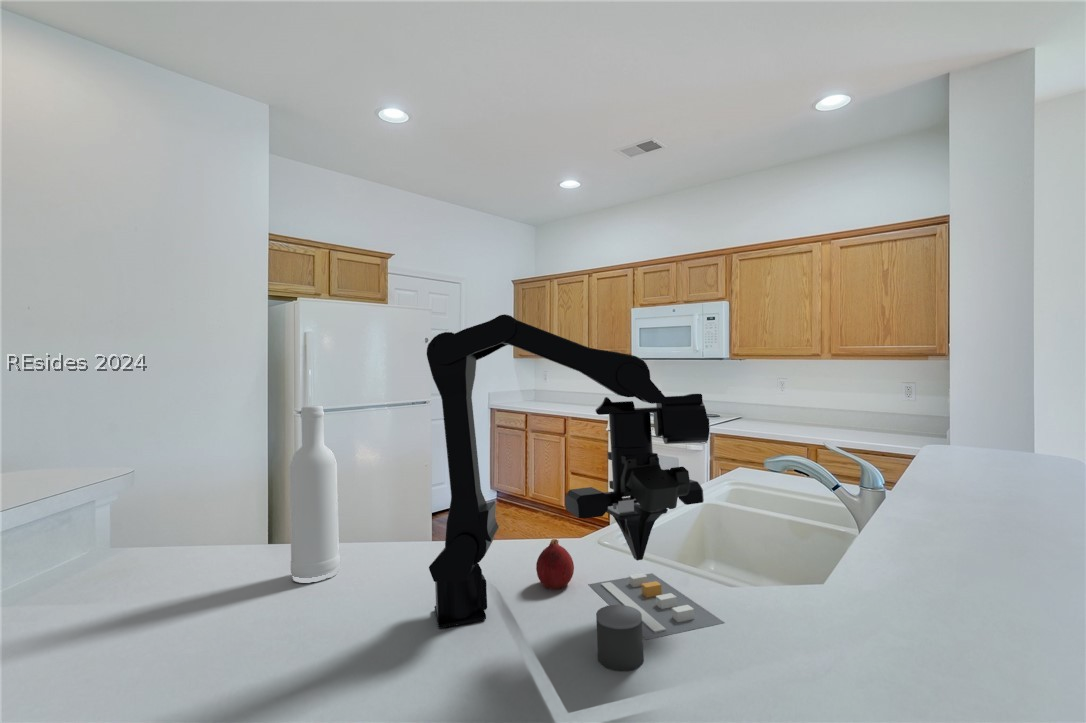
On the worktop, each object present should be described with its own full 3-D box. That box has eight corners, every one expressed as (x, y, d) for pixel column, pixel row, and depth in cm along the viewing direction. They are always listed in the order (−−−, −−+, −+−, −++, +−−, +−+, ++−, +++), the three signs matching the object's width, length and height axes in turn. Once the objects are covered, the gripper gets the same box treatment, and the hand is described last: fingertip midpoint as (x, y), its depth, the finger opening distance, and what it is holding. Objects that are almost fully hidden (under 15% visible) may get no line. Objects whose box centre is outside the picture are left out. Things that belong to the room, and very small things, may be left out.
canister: (609, 686, 52) (606, 628, 52) (591, 662, 56) (589, 608, 57) (652, 677, 53) (649, 620, 53) (631, 654, 58) (629, 602, 58)
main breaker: (646, 597, 70) (646, 587, 70) (642, 593, 71) (641, 583, 71) (661, 594, 71) (661, 584, 71) (656, 590, 72) (656, 581, 72)
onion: (572, 601, 73) (569, 545, 73) (533, 599, 74) (531, 545, 74) (577, 585, 78) (574, 534, 79) (541, 584, 80) (539, 533, 80)
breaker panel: (646, 650, 58) (645, 629, 59) (588, 592, 76) (587, 576, 76) (725, 632, 62) (724, 612, 62) (652, 580, 79) (651, 565, 79)
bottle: (307, 587, 83) (304, 407, 84) (281, 579, 87) (278, 408, 88) (349, 571, 89) (345, 404, 91) (322, 565, 94) (319, 405, 95)
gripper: (591, 458, 59) (599, 592, 58) (724, 445, 64) (733, 568, 64) (561, 449, 70) (567, 562, 69) (677, 438, 75) (684, 543, 74)
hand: (638, 559), depth 69 cm, fingers closed
